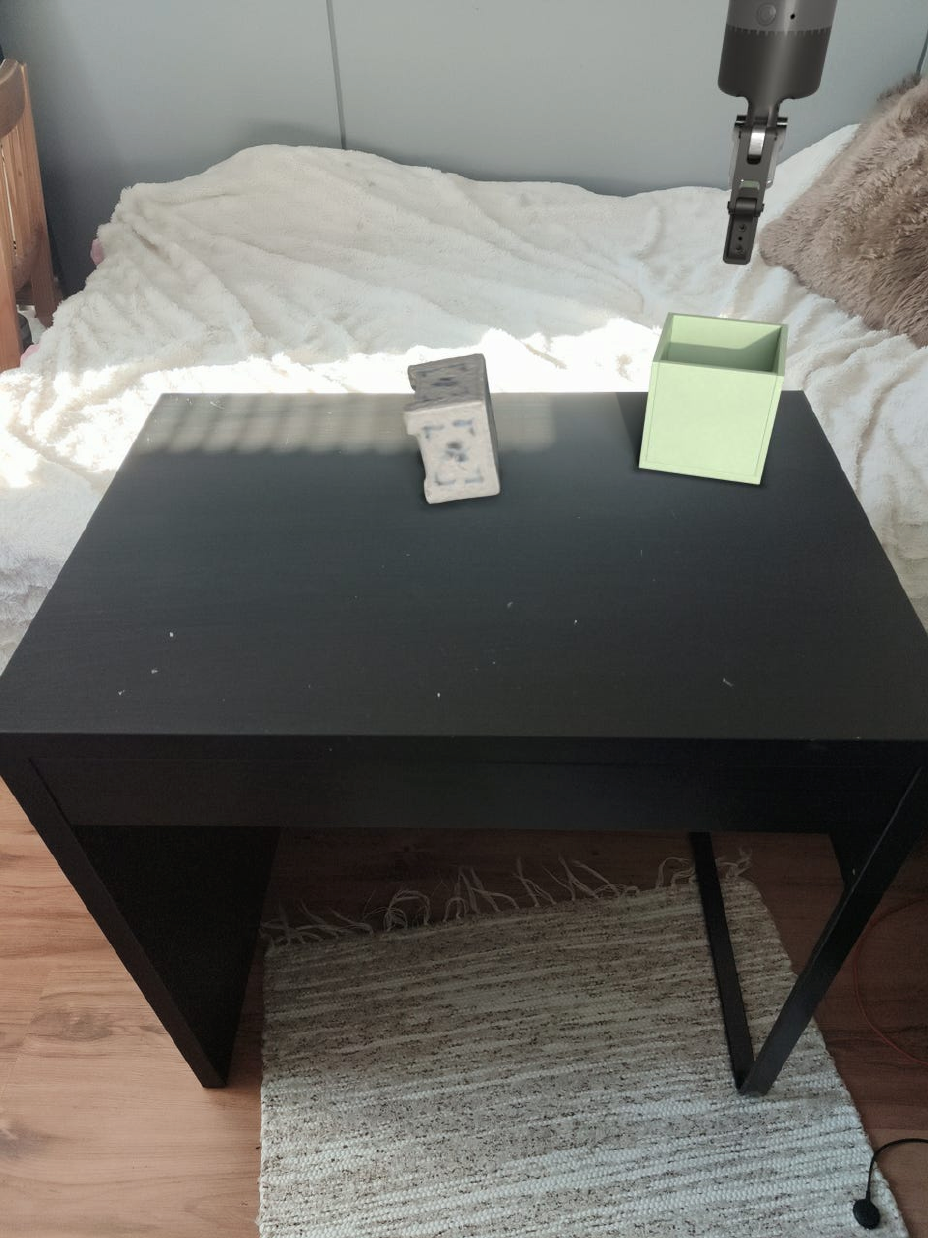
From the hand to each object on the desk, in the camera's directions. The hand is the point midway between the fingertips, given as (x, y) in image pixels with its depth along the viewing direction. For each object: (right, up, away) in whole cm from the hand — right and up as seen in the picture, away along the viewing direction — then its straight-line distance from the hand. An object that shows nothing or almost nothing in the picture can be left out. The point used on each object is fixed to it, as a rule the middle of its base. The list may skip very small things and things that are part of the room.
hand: (739, 245), depth 77 cm
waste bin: (0, -15, +13) cm, 19 cm away
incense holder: (-24, -18, +9) cm, 32 cm away
